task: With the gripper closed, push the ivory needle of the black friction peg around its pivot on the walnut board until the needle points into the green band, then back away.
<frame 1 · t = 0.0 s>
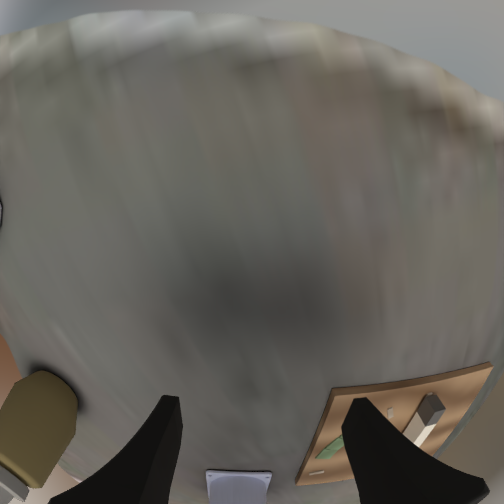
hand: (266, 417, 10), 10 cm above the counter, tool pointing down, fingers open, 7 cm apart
peg: (411, 440, 24), point 3 cm above the counter, hinge at 0.0°
board: (395, 432, 27), on the counter
squeeze bottle: (57, 388, 23), on the counter
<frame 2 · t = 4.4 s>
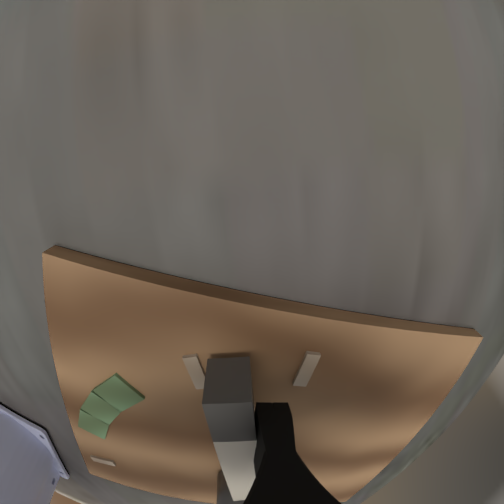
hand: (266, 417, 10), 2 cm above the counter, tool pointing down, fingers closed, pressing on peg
peg: (243, 466, 11), point 3 cm above the counter, hinge at 17.9°, touching gripper
board: (252, 439, 14), on the counter
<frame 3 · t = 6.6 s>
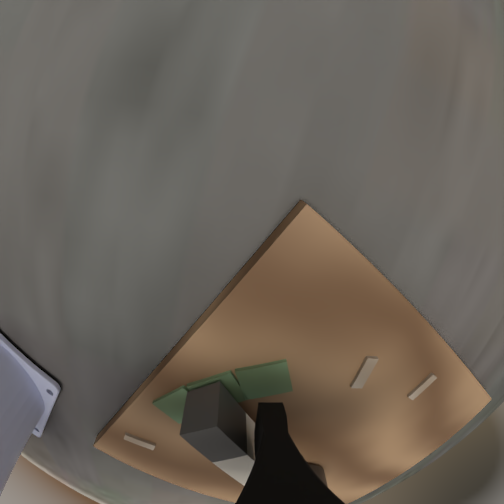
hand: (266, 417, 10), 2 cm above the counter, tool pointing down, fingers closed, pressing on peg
peg: (268, 473, 12), point 3 cm above the counter, hinge at 65.4°, touching gripper
board: (320, 442, 15), on the counter
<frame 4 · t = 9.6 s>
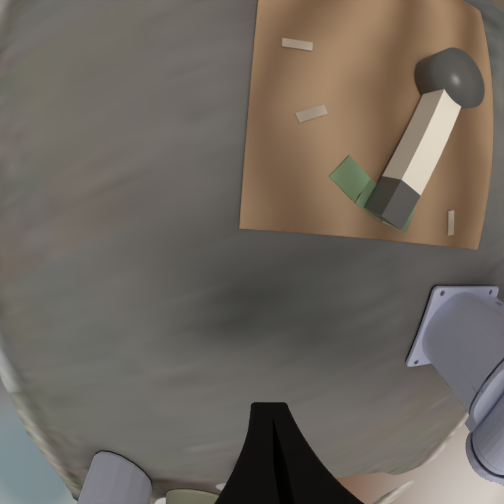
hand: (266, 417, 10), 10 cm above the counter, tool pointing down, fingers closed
peg: (429, 129, 14), point 3 cm above the counter, hinge at 65.8°
board: (394, 80, 15), on the counter
soap bottle: (124, 472, 29), on the counter
can: (196, 498, 31), on the counter
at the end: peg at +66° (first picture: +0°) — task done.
